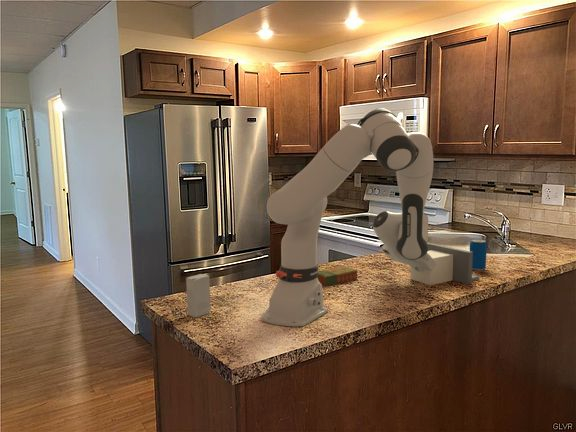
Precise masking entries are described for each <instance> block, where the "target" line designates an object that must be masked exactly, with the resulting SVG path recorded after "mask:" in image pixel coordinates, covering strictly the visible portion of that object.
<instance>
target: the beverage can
mask: <svg viewBox="0 0 576 432" xmlns="http://www.w3.org/2000/svg"><path fill="white" fill-rule="evenodd" d="M487 248H488V243H487V240H485V239H479V238H478V239H476V238H474V239H471V240H470V242H469V251H471V252H473V260H472V271H484V270H485V269H487Z"/></svg>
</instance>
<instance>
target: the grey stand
mask: <svg viewBox="0 0 576 432" xmlns="http://www.w3.org/2000/svg"><path fill="white" fill-rule="evenodd" d="M427 244H428V251H430V250H435V251H439V252H444V253H448V254H453V278H452V280H451V281H455V282H456V283H457V282H458V283H461V284H465V285H471V284H472V282H474V281H478V280H480V275H477V274H476V275H475V274H473V270H472V260H473V252H471V251H470V250H465V249H462V248H461V249H460V248H456V247H452V246H445V245H441V244H437V243H432V242H428V241H427Z"/></svg>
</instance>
